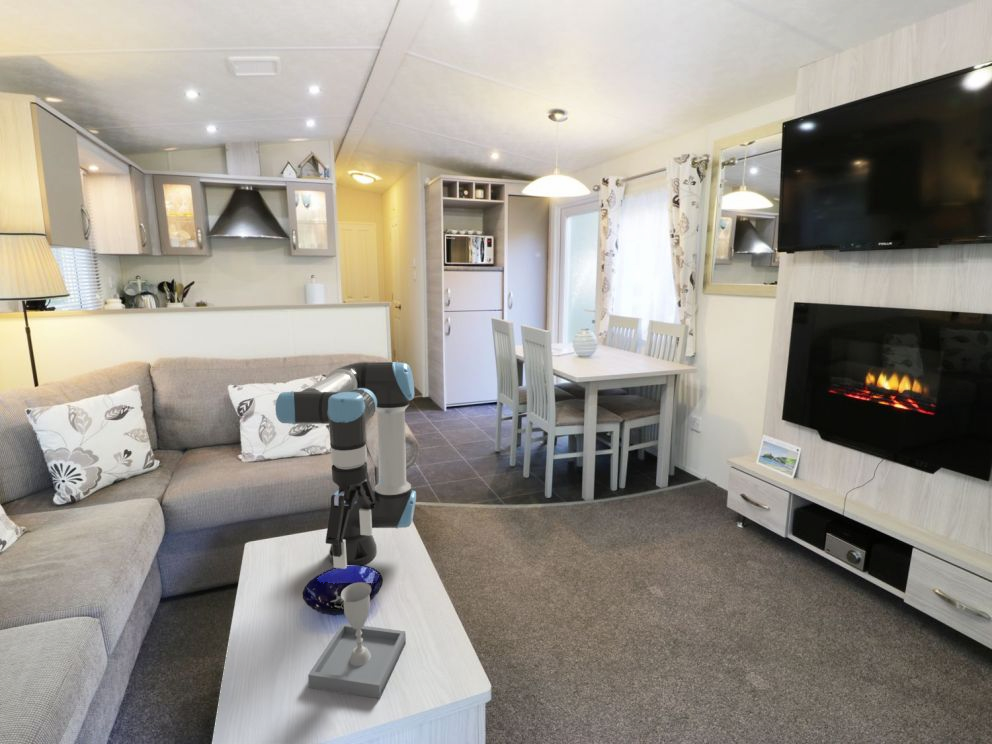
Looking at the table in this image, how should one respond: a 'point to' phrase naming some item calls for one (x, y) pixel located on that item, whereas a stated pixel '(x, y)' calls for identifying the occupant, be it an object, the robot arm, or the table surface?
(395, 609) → the table surface
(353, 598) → the chalice
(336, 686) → the tray
